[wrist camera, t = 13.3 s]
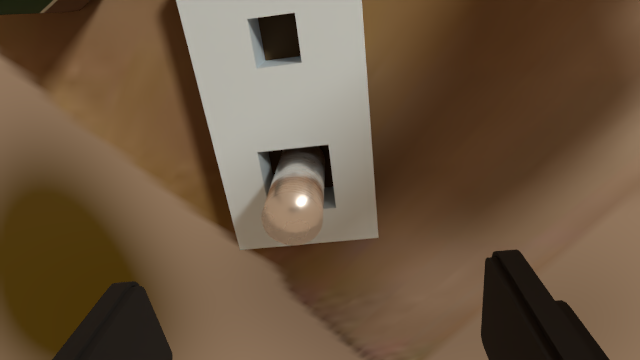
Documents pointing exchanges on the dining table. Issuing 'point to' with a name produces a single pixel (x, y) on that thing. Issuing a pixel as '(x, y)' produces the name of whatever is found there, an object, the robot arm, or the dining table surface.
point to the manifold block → (285, 107)
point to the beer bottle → (40, 6)
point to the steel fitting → (296, 197)
